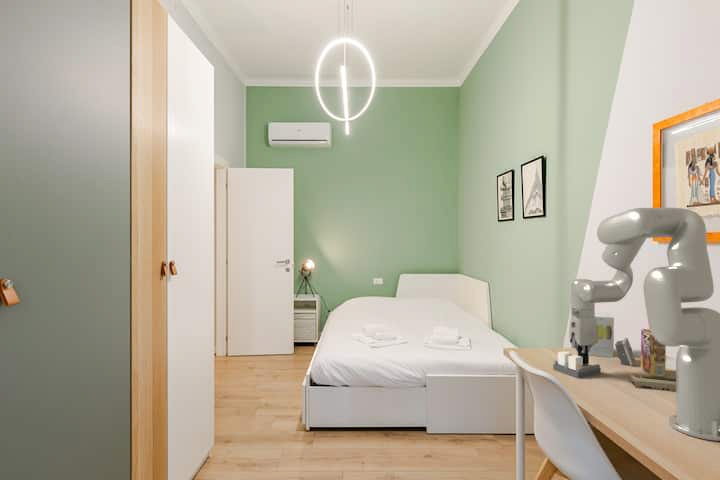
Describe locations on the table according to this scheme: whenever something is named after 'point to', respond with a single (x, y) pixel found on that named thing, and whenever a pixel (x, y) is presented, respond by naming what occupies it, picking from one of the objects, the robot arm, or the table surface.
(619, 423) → the table surface
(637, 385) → the computer
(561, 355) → the tab
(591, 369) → the switch bank
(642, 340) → the candy box
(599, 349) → the supplement box
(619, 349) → the electrical switch
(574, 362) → the white block
